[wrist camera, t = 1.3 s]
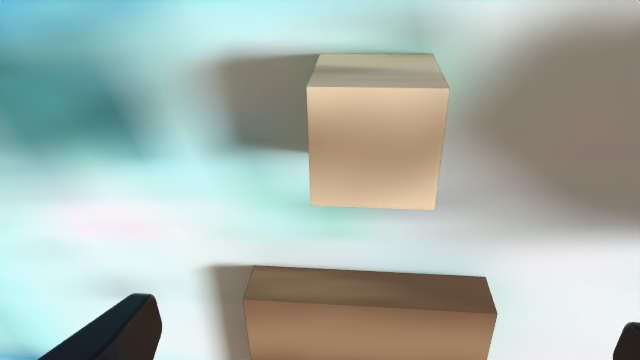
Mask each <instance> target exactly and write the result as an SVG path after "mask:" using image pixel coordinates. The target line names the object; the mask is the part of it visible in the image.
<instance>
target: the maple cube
mask: <svg viewBox="0 0 640 360" xmlns="http://www.w3.org/2000/svg"><path fill="white" fill-rule="evenodd" d="M306 88H307V116H308V144H309V173H310V201H311V205H315V206H341V207H368V208H394V209H420V210H435V203H436V195H437V187H438V179H439V171H440V163H441V155H442V147H443V138H444V130H445V122H446V114H447V106H448V98H449V90H450V88H449V86H448V84H447V82H446V80H445V78H444V76H443V74H442V72H441V69H440V67H439V65H438V63H437V61H436V59H435V57H434V55H433V54H320V56H319V58H318V60H317V63H316V65H315V68H314V70H313V72H312V75H311V77H310V80H309V82H308V84H307V87H306Z"/></svg>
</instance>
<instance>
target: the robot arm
mask: <svg viewBox="0 0 640 360" xmlns="http://www.w3.org/2000/svg"><path fill="white" fill-rule="evenodd" d="M161 333H162V321H161V317H160V314H159V310H158V306H157V302H156V299H155V297H154V296H153V295H151V294H142V293H134V294H131V295H129V296H128V297H126V298H125V299H123V300H122V301H121V302H119V303H118V304H116V305H115V306H113V307H112V308H111V309H109V310H108V311H106V312H105V313H103V314H102V315H100V316H99V317H98V318H96V319H95V320H93V321H92V322H90V323H89V324H88V325H86V326H85V327H83V328H82V329H80V330H79V331H77V332H76V333H75V334H73V335H72V336H70V337H69V338H67V339H66V340H65V341H63V342H62V343H60V344H59V345H57V346H56V347H55V348H53V349H52V350H50V351H49V352H47V353H46V354H44V355H43V356H42V357H40V358H39V359H37V360H153V358H154V355H155V352H156V349H157V346H158V343H159V340H160V337H161ZM613 360H640V323H639V322H630V323H628V324H626V325H625V327H624V329H623V331H622V334H621V336H620V338H619V341H618V343H617V345H616V347H615V350H614V353H613Z"/></svg>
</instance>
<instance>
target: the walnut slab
mask: <svg viewBox="0 0 640 360" xmlns="http://www.w3.org/2000/svg"><path fill="white" fill-rule="evenodd" d="M243 304H244V311H245V318H246V326H247V333H248V340H249V347H250V354H251V360H487V357H488V352H489V348H490V344H491V340H492V335H493V331H494V327H495V323H496V318H497V311H496V308H495V305H494V302H493V299H492V296H491V293H490V289H489V286H488V283H487V280H486V277H476V276H456V275H436V274H415V273H395V272H375V271H355V270H335V269H315V268H295V267H275V266H254V269H253V272H252V275H251V277H250V280H249V283H248V286H247V289H246V292H245V295H244V298H243Z"/></svg>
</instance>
